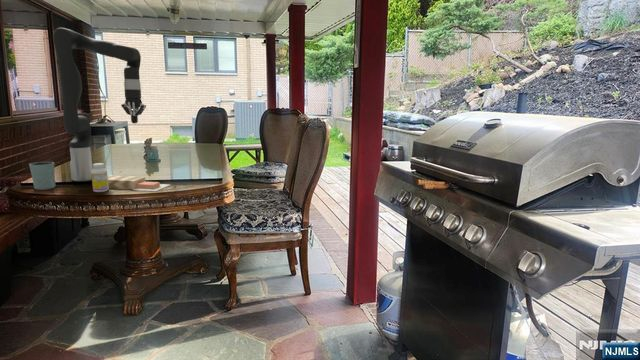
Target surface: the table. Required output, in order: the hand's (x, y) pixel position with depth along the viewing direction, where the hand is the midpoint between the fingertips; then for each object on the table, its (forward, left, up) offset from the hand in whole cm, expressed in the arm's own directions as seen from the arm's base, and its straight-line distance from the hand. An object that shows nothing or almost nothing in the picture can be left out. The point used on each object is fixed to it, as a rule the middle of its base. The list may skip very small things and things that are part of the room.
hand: (134, 123), depth 215 cm
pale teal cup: (-34, -25, -30) cm, 52 cm away
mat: (+15, -14, -30) cm, 36 cm away
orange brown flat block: (+14, -14, -30) cm, 36 cm away
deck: (-1, -14, -30) cm, 33 cm away
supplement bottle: (-4, -25, -30) cm, 39 cm away
